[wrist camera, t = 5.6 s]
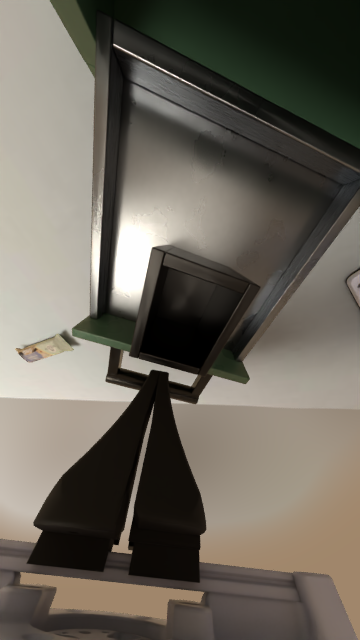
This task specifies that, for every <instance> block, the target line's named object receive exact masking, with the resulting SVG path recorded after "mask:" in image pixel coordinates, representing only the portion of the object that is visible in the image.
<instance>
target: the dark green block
mask: <svg viewBox="0 0 360 640" xmlns="http://www.w3.org/2000/svg"><path fill="white" fill-rule="evenodd" d="M50 2H51V3H52V5H53V7H54V9H55V10H56V12H57V14H58V16H59V17H60V19H61V21H62V23H63V24H64V26H65V28H66V30H67V31H68V33H69V35H70V37H71V38H72V40H73V42H74V44H75V45H76V47H77V49H78V51H79V52H80V54H81V56H82V58H83V59H84V61H85V62H86V64H87V65H88V67H89V69H90V71H91V72H92V74H93V76H94V78H95V50H96V11H97V9H98V10H100V11H102V12H104V13H106V14H108V15H110V16H111V17H112V18H113V19H117V20H119V21H121V22H123V23H125V24H127V25H128V26H130V27H132V28H134V29H136V30H138V31H140V32H142V33H143V34H145V35H147V36H149V37H151V38H153V39H155V40H157V41H158V42H160V43H162V44H164V45H166V46H168V47H170V48H172V49H173V50H175V51H177V52H179V53H181V54H183V55H185V56H187V57H188V58H190V59H192V60H194V61H196V62H198V63H200V64H202V65H203V66H205V67H207V68H209V69H211V70H213V71H215V72H217V73H218V74H220V75H222V76H224V77H226V78H228V79H230V80H231V81H233V82H235V83H237V84H239V85H241V86H243V87H245V88H246V89H248V90H250V91H252V92H254V93H256V94H258V95H260V96H261V97H263V98H265V99H267V100H269V101H271V102H273V103H275V104H276V105H278V106H280V107H282V108H284V109H286V110H288V111H290V112H291V113H293V114H295V115H297V116H299V117H301V118H303V119H305V120H306V121H308V122H310V123H312V124H314V125H316V126H318V127H320V128H321V129H323V130H325V131H327V132H329V133H331V134H333V135H335V136H336V137H338V138H340V139H342V140H344V141H346V142H348V143H350V144H351V145H353V146H355V147H357V148H359V149H360V0H50Z"/></svg>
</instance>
